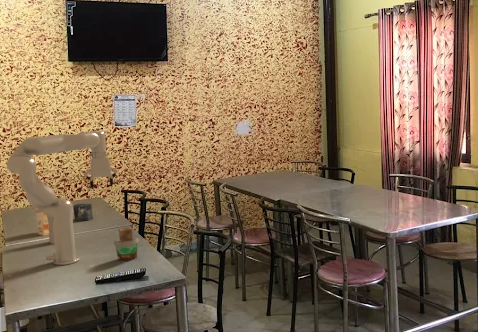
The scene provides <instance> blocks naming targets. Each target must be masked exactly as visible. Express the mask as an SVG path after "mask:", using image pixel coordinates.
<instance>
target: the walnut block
mask: <svg viewBox="0 0 478 332" xmlns="http://www.w3.org/2000/svg"><path fill="white" fill-rule="evenodd" d="M118 234H119V241H121V242H125V241H131V240H133V239H134V238H133V229H132V228H131V227H130V226H128V227H127V226H125V227H120V228H119V227H118Z"/></svg>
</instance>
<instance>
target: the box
mask: <svg viewBox="0 0 478 332" xmlns="http://www.w3.org/2000/svg"><path fill="white" fill-rule="evenodd" d="M93 218H94V217H93V208H92V203H76V204H74V205H73V220H74V221H76V222H77V221H80V222H81V221H82V222H84V221H85V222H88V221H91V220H93Z"/></svg>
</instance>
